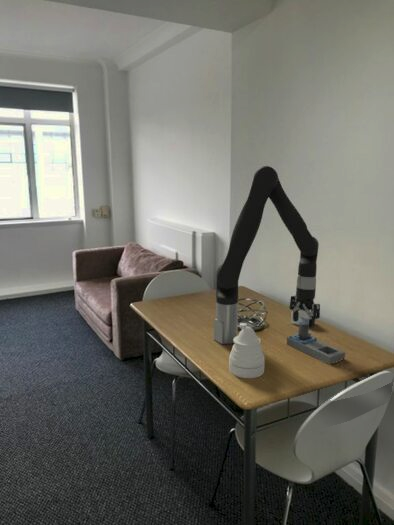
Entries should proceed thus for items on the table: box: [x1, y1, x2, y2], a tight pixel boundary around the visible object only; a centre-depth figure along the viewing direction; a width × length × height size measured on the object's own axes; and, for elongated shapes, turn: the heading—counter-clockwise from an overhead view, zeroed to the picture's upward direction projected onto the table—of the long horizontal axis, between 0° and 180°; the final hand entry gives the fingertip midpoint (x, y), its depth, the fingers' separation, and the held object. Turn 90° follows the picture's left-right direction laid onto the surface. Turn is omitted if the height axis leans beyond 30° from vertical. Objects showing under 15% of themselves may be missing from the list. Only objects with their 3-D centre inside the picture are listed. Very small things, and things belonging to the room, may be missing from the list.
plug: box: [297, 317, 310, 341], centre depth 175 cm, size 4×4×12 cm
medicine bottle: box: [290, 302, 310, 326], centre depth 201 cm, size 7×7×12 cm
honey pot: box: [228, 322, 266, 379], centre depth 154 cm, size 13×13×18 cm
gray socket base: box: [286, 331, 346, 365], centre depth 170 cm, size 23×9×5 cm, turn 32°
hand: (303, 324), depth 174 cm, fingers open, 8 cm apart
